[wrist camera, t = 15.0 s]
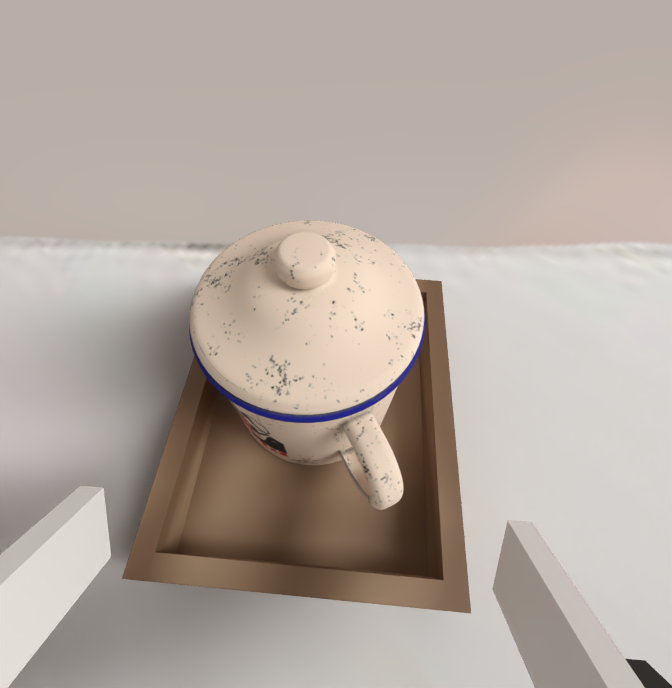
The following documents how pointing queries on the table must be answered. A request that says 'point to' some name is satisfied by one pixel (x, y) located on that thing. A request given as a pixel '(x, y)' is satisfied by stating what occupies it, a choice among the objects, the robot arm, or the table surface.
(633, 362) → the table surface
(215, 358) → the teacup with lid
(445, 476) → the walnut tray
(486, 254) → the table surface
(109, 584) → the table surface
